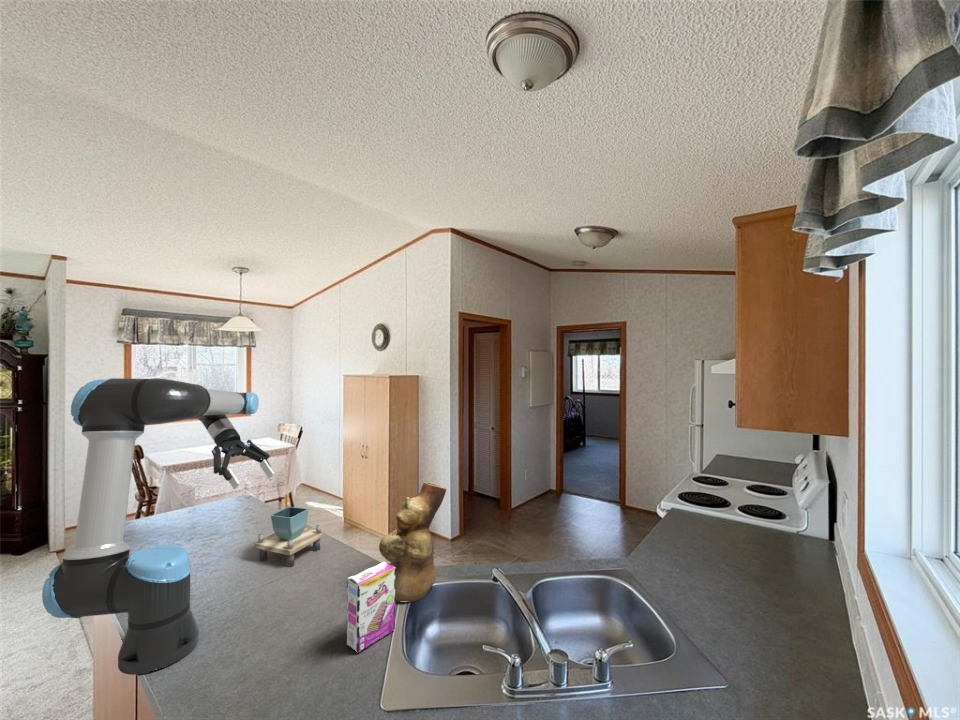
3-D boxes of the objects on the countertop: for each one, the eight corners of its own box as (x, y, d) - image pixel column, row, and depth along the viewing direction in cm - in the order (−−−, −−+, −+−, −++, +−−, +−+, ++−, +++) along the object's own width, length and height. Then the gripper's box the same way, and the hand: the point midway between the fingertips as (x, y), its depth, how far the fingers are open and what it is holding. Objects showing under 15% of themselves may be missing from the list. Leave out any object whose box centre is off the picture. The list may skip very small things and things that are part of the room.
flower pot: (270, 541, 143) (269, 515, 143) (289, 530, 151) (288, 506, 151) (290, 544, 140) (290, 517, 140) (309, 533, 149) (308, 508, 149)
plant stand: (325, 548, 150) (324, 524, 150) (290, 569, 136) (290, 543, 136) (291, 541, 156) (290, 518, 156) (254, 560, 141) (253, 535, 141)
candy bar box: (358, 655, 96) (358, 584, 96) (346, 646, 99) (345, 577, 99) (396, 630, 105) (396, 565, 105) (384, 623, 108) (383, 559, 108)
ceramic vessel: (371, 587, 125) (370, 487, 125) (432, 563, 139) (431, 474, 139) (396, 611, 113) (396, 501, 113) (460, 583, 127) (460, 484, 127)
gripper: (250, 436, 161) (279, 478, 155) (183, 448, 138) (214, 498, 132) (260, 422, 159) (289, 465, 153) (194, 433, 136) (226, 483, 130)
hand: (255, 481), depth 143 cm, fingers open, 13 cm apart
